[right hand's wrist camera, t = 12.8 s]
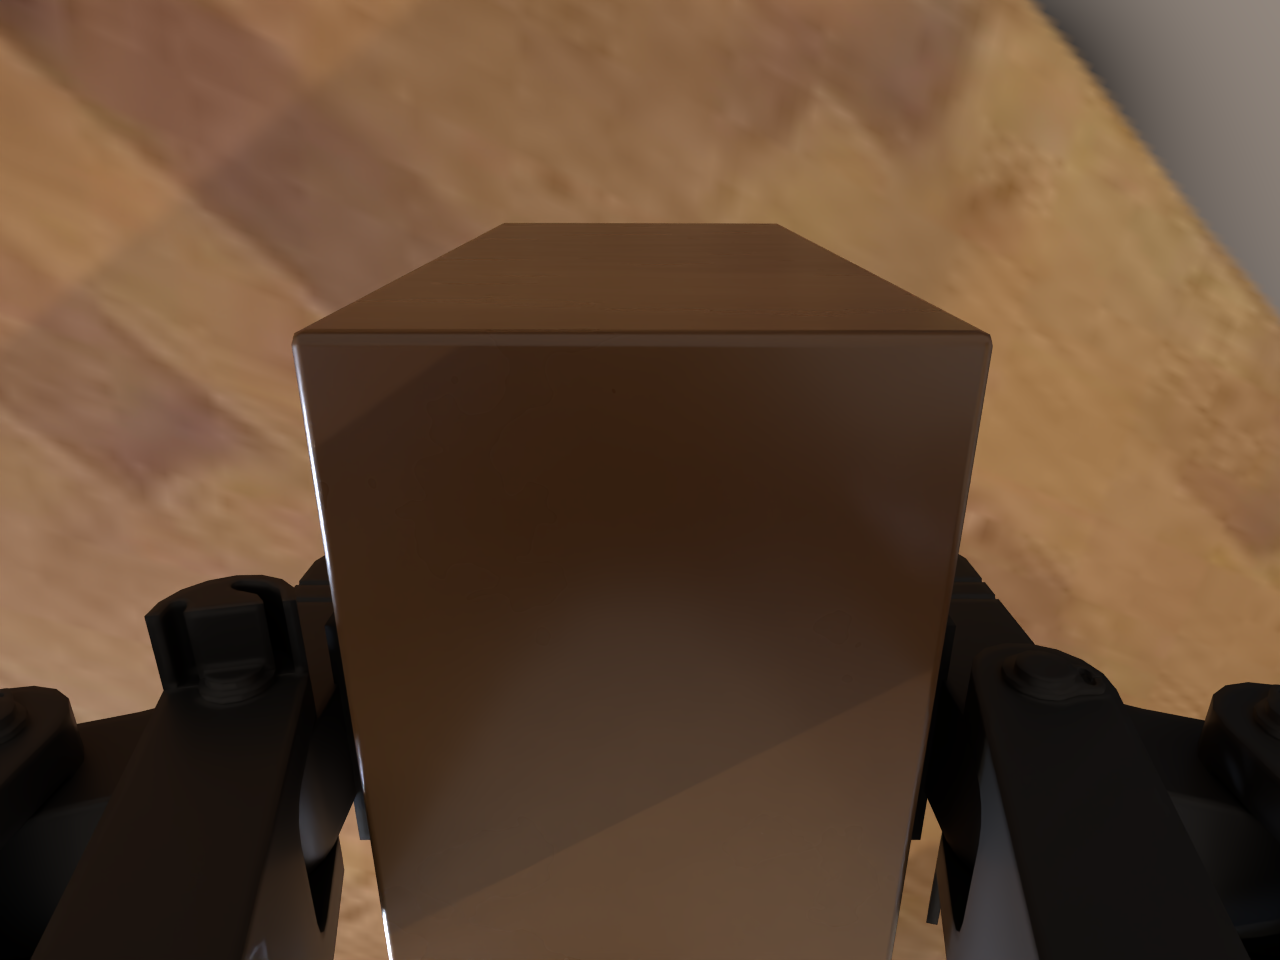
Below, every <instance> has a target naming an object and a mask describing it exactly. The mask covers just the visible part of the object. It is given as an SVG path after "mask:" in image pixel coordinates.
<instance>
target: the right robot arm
mask: <svg viewBox="0 0 1280 960" xmlns="http://www.w3.org/2000/svg"><path fill="white" fill-rule="evenodd" d="M145 621H146V625H147V628H148V632H149V636H150V640H151V644H152V648H153V651H154V655H155V659H156V663H157V667H158V671H159V674H160V678H161V682H162V686H163V690H164V691H163V693H162V695H161V697H160V699H159V701H158V703H157V705H156V707H155V708H154V709H150V710H146V711H142V712H137V713H132V714H127V715H122V716H117V717H111V718H106V719H101V720H96V721H91V722H85V723H80V724H77V723H76V720H75V717H74V714H73V711H72V707H71V704H70V701H69V698H67V697H66V696H65V695H63V694H62V693H61V692H59V691H58V690H57V689H52V688H45V687H38V686H29V687H19V688H4V689H0V960H334V951H335V943H336V935H337V926H338V918H339V910H340V901H341V893H342V884H343V876H344V865H343V858H342V852H341V846H340V841H339V833H340V831H341V828H342V826H343V824H344V822H345V819H346V817H347V815H348V813H349V810H350V808H351V806H352V804H353V801H354V806H355V812H356V818H357V824H358V830H359V836H360V840H370V834H369V828H368V822H367V815H366V809H365V803H364V797H363V790H362V784H361V778H360V771H359V765H358V759H357V753H356V746H355V740H354V734H353V727H352V721H351V715H350V709H349V702H348V696H347V690H346V683H345V677H344V671H343V665H342V658H341V652H340V646H339V639H338V633H337V627H336V621H335V614H334V608H333V602H332V595H331V589H330V583H329V577H328V570H327V564H326V558H325V556H323V557H321V558H320V559H318V560H316V561H315V562H314V563H313V565H312V566H311V567H310V568H309V570H308V571H307V572H306V573H305V575H304V576H303V577H302V578H301V580H300V581H299V585H296V586H295V587H292V586H291V585H290V584H288V583H287V582H285V581H284V580H283V579H279V578H274V577H269V576H265V575H236V576H231V577H225V578H220V579H214V580H209V581H206V582H203V583H200V584H197V585H194V586H191V587H188V588H185V589H182V590H180V591H178V592H176V593H175V594H173V595H171V596H169V597H167V598H166V599H164V600H162V601H160V602H158V603H157V604H156V605H155V606H154V607H153V608H152V609H151V610H150V611H149V612H148V613H147V615H146V616H145ZM927 798H928V801H929V803H930V805H931V807H932V810H933V812H934V814H935V816H936V818H937V821H938V823H939V825H940V827H941V830H942V835H941V841H940V846H939V852H938V858H937V863H936V869H935V874H934V880H933V886H932V891H931V897H930V902H929V908H928V915H927V921H926V923H930V924H936V925H937V924H938V919H939V913H940V908H941V916H942V924H943V933H944V941H945V949H946V958H947V960H1280V685H1270V684H1260V683H1250V682H1246V683H1239V684H1232V685H1225V686H1224V687H1223V688H1221V689H1220V690H1219V691H1217V692H1216V693H1215V694H1213V697H1212V700H1211V703H1210V706H1209V710H1208V713H1207V716H1206V719H1205V721H1204V720H1199V719H1194V718H1188V717H1183V716H1178V715H1173V714H1167V713H1162V712H1157V711H1152V710H1146V709H1141V708H1137V707H1133V706H1129V705H1125V704H1123V702H1122V700H1121V698H1120V696H1119V694H1118V692H1117V690H1116V688H1115V687H1114V686H1113V685H1112V684H1111V682H1110V681H1109V680H1108V679H1107V678H1106V676H1105V675H1104V674H1103V673H1101V672H1100V671H1098V670H1097V669H1095V668H1094V667H1092V666H1091V665H1089V664H1088V663H1086V662H1085V661H1083V660H1081V659H1079V658H1076V657H1074V656H1071V655H1069V654H1067V653H1064V652H1062V651H1059V650H1057V649H1052V648H1047V647H1043V646H1038V645H1035V644H1034V643H1033V642H1032V640H1031V639H1030V638H1029V637H1028V635H1027V634H1026V633H1025V632H1024V630H1023V629H1022V628H1021V627H1020V625H1019V624H1018V623H1017V622H1016V620H1015V619H1014V618H1013V617H1012V615H1011V614H1010V613H1009V612H1008V610H1007V609H1006V608H1005V607H1004V605H1003V604H1002V603H1001V602H1000V600H999V599H995V594H994V593H993V592H992V591H991V589H990V588H989V587H988V586H987V584H986V583H985V582H982V578H981V577H980V576H979V574H978V573H977V572H976V571H975V569H974V568H973V567H972V566H971V564H970V563H969V562H968V561H967V559H966V558H964V557H963V556H961V555H959V554H958V559H957V565H956V571H955V577H954V583H953V589H952V595H951V601H950V607H949V613H948V619H947V625H946V632H945V638H944V644H943V650H942V656H941V662H940V668H939V674H938V680H937V686H936V692H935V698H934V704H933V710H932V716H931V722H930V728H929V734H928V740H927V746H926V753H925V759H924V765H923V771H922V777H921V783H920V789H919V795H918V801H917V807H916V813H915V819H914V825H913V831H912V837H911V840H920V839H921V833H922V827H923V821H924V815H925V809H926V803H927Z"/></svg>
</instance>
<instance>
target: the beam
mask: <svg viewBox="0 0 1280 960" xmlns="http://www.w3.org/2000/svg"><path fill="white" fill-rule="evenodd" d="M992 347H993V345H992V340H991V336H990V334H988V333H986V332H984V331H982V330H980V329H978V328H976V327H974V326H972V325H970V324H969V323H967V322H965V321H963V320H961V319H959V318H957V317H955V316H953V315H951V314H949V313H947V312H946V311H944V310H942V309H940V308H938V307H936V306H934V305H932V304H930V303H928V302H926V301H924V300H923V299H921V298H919V297H917V296H915V295H913V294H911V293H909V292H907V291H905V290H903V289H901V288H899V287H898V286H896V285H894V284H892V283H890V282H888V281H886V280H884V279H882V278H880V277H878V276H876V275H875V274H873V273H871V272H869V271H867V270H865V269H863V268H861V267H859V266H857V265H855V264H853V263H852V262H850V261H848V260H846V259H844V258H842V257H840V256H838V255H836V254H834V253H832V252H830V251H828V250H827V249H825V248H823V247H821V246H819V245H817V244H815V243H813V242H811V241H809V240H807V239H805V238H804V237H802V236H800V235H798V234H796V233H794V232H792V231H790V230H788V229H786V228H784V227H782V226H780V225H778V224H672V223H504V224H501V225H499V226H497V227H496V228H494V229H492V230H490V231H488V232H486V233H484V234H482V235H480V236H478V237H477V238H475V239H473V240H471V241H469V242H467V243H465V244H463V245H461V246H459V247H458V248H456V249H454V250H452V251H450V252H448V253H446V254H444V255H442V256H440V257H439V258H437V259H435V260H433V261H431V262H429V263H427V264H425V265H423V266H421V267H420V268H418V269H416V270H414V271H412V272H410V273H408V274H406V275H404V276H402V277H401V278H399V279H397V280H395V281H393V282H391V283H389V284H387V285H385V286H383V287H382V288H380V289H378V290H376V291H374V292H372V293H370V294H368V295H366V296H364V297H363V298H361V299H359V300H357V301H355V302H353V303H351V304H349V305H347V306H345V307H343V308H342V309H340V310H338V311H336V312H334V313H332V314H330V315H328V316H326V317H324V318H323V319H321V320H319V321H317V322H315V323H313V324H311V325H309V326H307V327H305V328H304V329H302V330H300V331H298V332H296V333H294V336H293V340H292V350H293V357H294V363H295V369H296V375H297V382H298V388H299V394H300V401H301V407H302V413H303V419H304V426H305V432H306V438H307V445H308V451H309V457H310V463H311V470H312V476H313V482H314V489H315V495H316V501H317V507H318V514H319V520H320V526H321V533H322V539H323V545H324V551H325V558H326V564H327V570H328V577H329V583H330V589H331V595H332V602H333V608H334V614H335V621H336V627H337V633H338V639H339V646H340V652H341V658H342V665H343V671H344V677H345V683H346V690H347V696H348V702H349V709H350V715H351V721H352V727H353V734H354V740H355V746H356V753H357V759H358V765H359V771H360V778H361V784H362V790H363V797H364V803H365V809H366V815H367V822H368V828H369V834H370V841H371V847H372V853H373V859H374V866H375V872H376V878H377V885H378V891H379V897H380V903H381V910H382V916H383V922H384V929H385V935H386V941H387V947H388V954H389V960H891V958H892V952H893V946H894V940H895V934H896V928H897V922H898V916H899V910H900V904H901V898H902V892H903V886H904V880H905V873H906V867H907V861H908V855H909V849H910V843H911V837H912V831H913V825H914V819H915V813H916V807H917V801H918V795H919V789H920V783H921V777H922V771H923V765H924V759H925V753H926V746H927V740H928V734H929V728H930V722H931V716H932V710H933V704H934V698H935V692H936V686H937V680H938V674H939V668H940V662H941V656H942V650H943V644H944V638H945V632H946V625H947V619H948V613H949V607H950V601H951V595H952V589H953V583H954V577H955V571H956V565H957V559H958V553H959V547H960V541H961V535H962V529H963V523H964V517H965V511H966V505H967V498H968V492H969V486H970V480H971V474H972V468H973V462H974V456H975V450H976V444H977V438H978V432H979V426H980V420H981V414H982V408H983V402H984V396H985V390H986V384H987V378H988V371H989V365H990V359H991V353H992Z"/></svg>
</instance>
